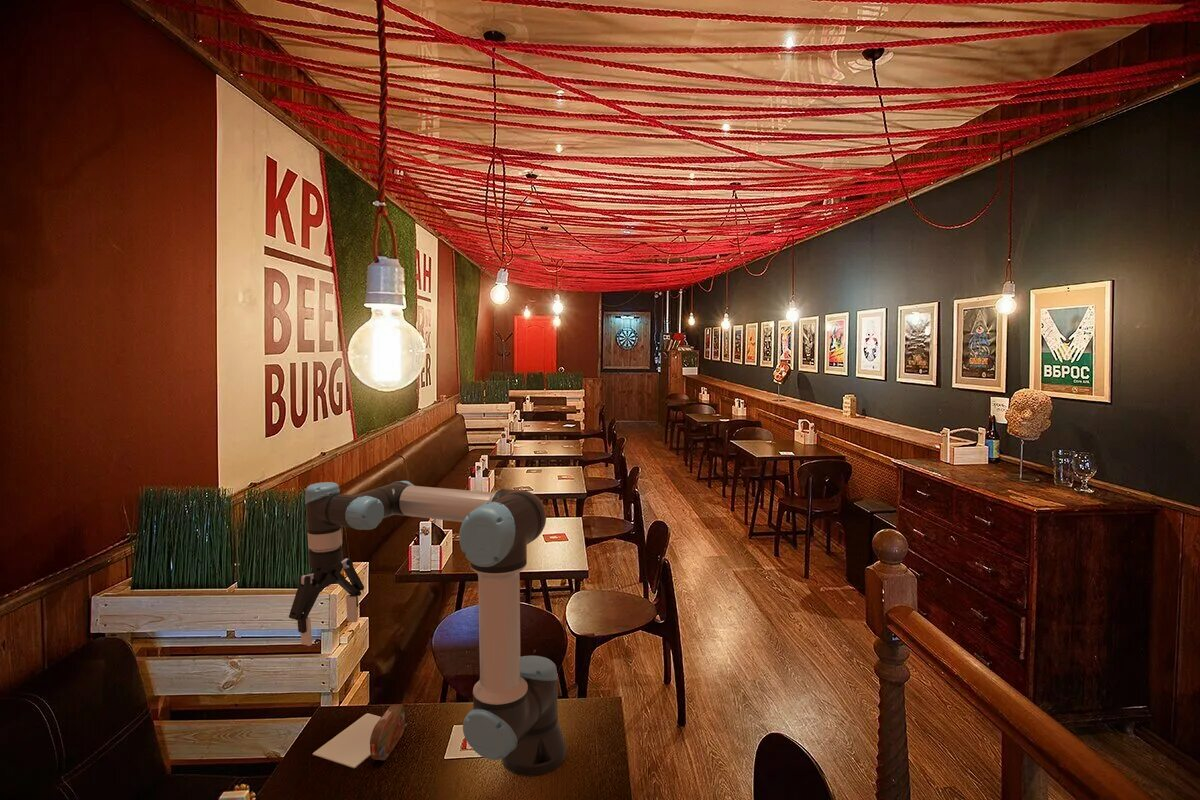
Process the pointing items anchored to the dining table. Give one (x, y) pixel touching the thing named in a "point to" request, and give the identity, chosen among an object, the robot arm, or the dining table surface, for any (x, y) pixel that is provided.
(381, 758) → the tin
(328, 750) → the placemat
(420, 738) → the dining table surface
